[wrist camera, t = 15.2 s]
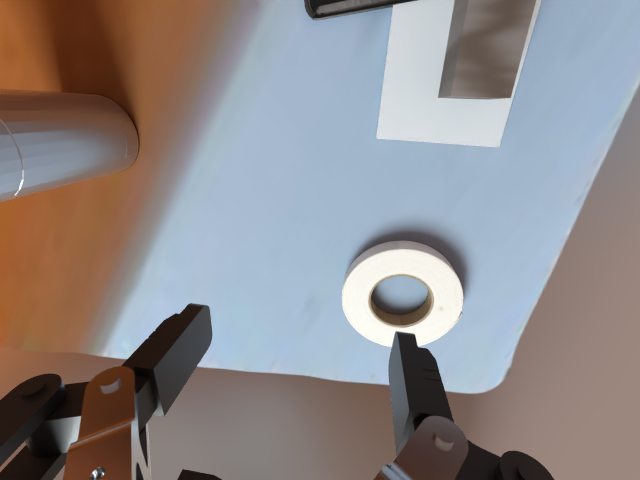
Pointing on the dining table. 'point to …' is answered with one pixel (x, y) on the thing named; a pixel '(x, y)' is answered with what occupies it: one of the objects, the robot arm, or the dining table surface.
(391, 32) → the mat
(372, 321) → the roll of tape
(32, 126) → the robot arm
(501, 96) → the block
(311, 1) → the phone
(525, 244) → the dining table surface
